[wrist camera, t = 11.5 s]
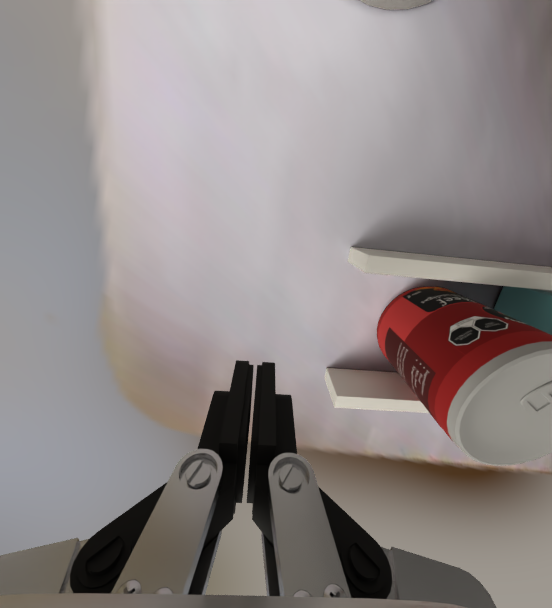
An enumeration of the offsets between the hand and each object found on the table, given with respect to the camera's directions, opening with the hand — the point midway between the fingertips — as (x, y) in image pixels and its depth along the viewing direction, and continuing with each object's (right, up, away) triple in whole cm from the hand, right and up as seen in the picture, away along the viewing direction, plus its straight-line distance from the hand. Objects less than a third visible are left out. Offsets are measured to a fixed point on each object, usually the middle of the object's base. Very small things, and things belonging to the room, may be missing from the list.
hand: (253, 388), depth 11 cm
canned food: (+14, +2, +13) cm, 19 cm away
